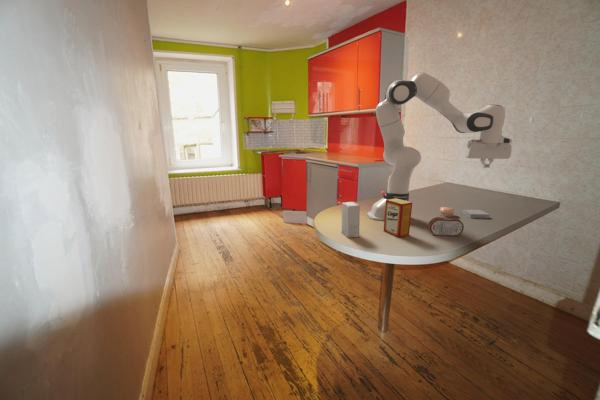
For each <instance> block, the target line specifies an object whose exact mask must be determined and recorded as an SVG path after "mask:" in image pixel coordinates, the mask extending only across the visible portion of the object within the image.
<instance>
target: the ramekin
mask: <svg viewBox="0 0 600 400" xmlns="http://www.w3.org/2000/svg"><path fill="white" fill-rule="evenodd" d="M454 210H455V209H454V208H453V207H448V206H441V207H439V216H440V217H445V218H454V212H455V211H454Z"/></svg>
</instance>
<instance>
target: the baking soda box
mask: <svg viewBox="0 0 600 400" xmlns="http://www.w3.org/2000/svg"><path fill="white" fill-rule="evenodd" d="M412 209H413V201H405V200H401V199H397V198H394V199H388V200H386V207H385V219H384V220H383V224H384V225H383V232H384V233H386V234H389V235H391V236H393V237H396V238H398V239H399V238H403V237H407V236H410V230H411V219H412Z"/></svg>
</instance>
